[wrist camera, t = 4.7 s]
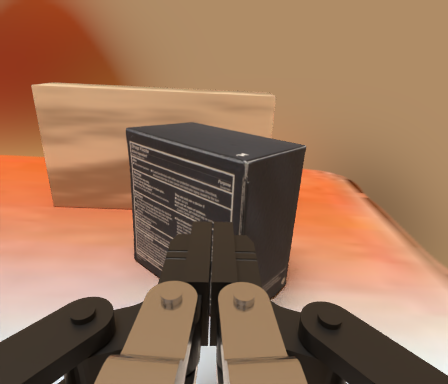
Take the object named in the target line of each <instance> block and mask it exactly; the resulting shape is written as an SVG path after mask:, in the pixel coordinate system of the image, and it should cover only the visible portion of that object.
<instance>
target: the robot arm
mask: <svg viewBox="0 0 448 384" xmlns="http://www.w3.org/2000/svg"><path fill="white" fill-rule="evenodd" d="M211 258H212V275H211ZM210 285H211V320H210V346H217V350H216V380H217V384H347V383H348V384H448V376H447V375H446V374H444V373H443V372H441V371H440V370H438V369H437V368H435V367H434V366H432V365H430V364H429V363H427V362H426V361H424V360H423V359H421V358H420V357H418V356H416V355H415V354H413V353H412V352H410V351H409V350H407V349H406V348H404V347H403V346H401V345H399V344H398V343H396V342H395V341H393V340H392V339H390V338H389V337H387V336H385V335H384V334H382V333H381V332H379V331H378V330H376V329H375V328H373V327H372V326H370V325H368V324H367V323H365V322H364V321H362V320H361V319H359V318H358V317H356V316H354V315H353V314H351V313H350V312H348V311H347V310H345V309H343V308H342V307H340V306H338V305H335V304H332V303H329V302H312V303H309V304H307V305H306V306H305V307H304V308H303V309H302V311H301V312H297V311H293V310H289V309H286V308H283V307H280V306H278V305H276V304H275V303H273V302H272V301H270V299H269V296H268V294H267V293H266V292H265V291H264V290H263V289H262V283H261V278H260V273H259V268H258V262H257V257H256V253H255V247H254V243H253V242H252V240H251V239H250V238H249V237H248V236H247V235H234V230H233V222H214V228H213V252H212V222H206V221H193V223H192V229H191V234H178V235H176V236H175V237H174V238H173V239H172V240H171V241H170V244H169V248H168V252H167V255H166V259H165V262H164V265H163V269H162V272H161V276H160V279H159V282H158V285H156V286H154V287H153V288H152V289H151V290H150V291H149V292H148V293H147V295H146V297H145V299H144V301H143V302H141V303H139V304H137V305H134V306H130V307H126V308H121V309H117V310H113V306H112V304H111V303H110V302H109V301H108V300H106V299H104V298H100V297H87V298H82V299H78V300H76V301H73V302H71V303H69V304H67V305H66V306H64V307H62V308H60V309H59V310H57V311H55V312H53V313H51V314H50V315H48V316H46V317H44V318H42V319H41V320H39V321H37V322H35V323H34V324H32V325H30V326H28V327H26V328H25V329H23V330H21V331H19V332H18V333H16V334H14V335H12V336H10V337H9V338H7V339H5V340H3V341H1V342H0V384H52V383H54V382H55V381H56V380H58V379H59V378H60V377H62V376H63V375H64V379H63V380H62V381H61V382H59V383H58V384H196V378H197V370H198V363H199V359H200V348H201V346H208V329H209V307H210ZM346 382H347V383H346Z"/></svg>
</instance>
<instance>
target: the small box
mask: <svg viewBox="0 0 448 384" xmlns="http://www.w3.org/2000/svg"><path fill="white" fill-rule="evenodd" d="M126 140H127V146H128V156H129V166H130V169H129V170H130V179H131V198H132V213H133V229H134V251H135V252H134V258H135V260H136V261H138V262H139V263H140V264H142V265H143V266H144V267H146V268H147V269H148V270H150V271H151V272H152V273H154V274H155V275H157V276H158V277H159V278H160V276H161V272H162V269H163V265H164V262H165V259H166V255H167V252H168V248H169V244H170V241H171V240H172V239H173V238H174V237H175V236H176V235H178V234H191V229H192V223H193V221H206V222H212V252H213V228H214V222H233V230H234V235H247V236H248V237H249V238H250V239H251V240H252V242H253V243H254V247H255V253H256V257H257V262H258V268H259V273H260V278H261V283H262V289H263V290H264V291H265V292H266V293H267V294H268V296H269V299H270V298H271V297H273V296H275V295H276V294H277V293H278V292H279V291H280V290H281V289H282V288H283V287H284V286H285V284H286V277H287V270H288V262H289V256H290V249H291V243H292V236H293V228H294V223H295V216H296V209H297V202H298V196H299V190H300V183H301V175H302V169H303V162H304V155H305V151H306V146H305V145H301V144H296V143H291V142H286V141H280V140H276V139H271V138H266V137H262V136H257V135H252V134H247V133H243V132H238V131H233V130H228V129H223V128H219V127H214V126H209V125H204V124H199V123H194V122H187V123H177V124H165V125H152V126H140V127H128V128H126ZM211 275H212V258H211ZM209 315H211V285H210V307H209Z"/></svg>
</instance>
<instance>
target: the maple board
mask: <svg viewBox="0 0 448 384" xmlns="http://www.w3.org/2000/svg"><path fill="white" fill-rule="evenodd" d="M31 86H32V91H33V96H34V102H35V107H36V112H37V118H38V124H39V129H40V134H41V139H42V145H43V150H44V156H45V161H46V167H47V172H48V177H49V183H50V188H51V194H52V199H53V204H54V206H57V207H85V208H113V209H132V198H131V179H130V170H129V169H130V166H129V156H128V146H127V140H126V128H128V127H140V126H152V125H165V124H177V123H187V122H194V123H199V124H204V125H209V126H214V127H219V128H223V129H228V130H233V131H238V132H243V133H247V134H252V135H257V136H262V137H266V138H271V137H272V128H273V118H274V108H275V99H276V96H274V95H273V94H271V93H265V92H244V91H223V90H201V89H180V88H179V89H178V88H159V87H137V86H116V85H94V84H72V83H46V84H38V85H31Z"/></svg>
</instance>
